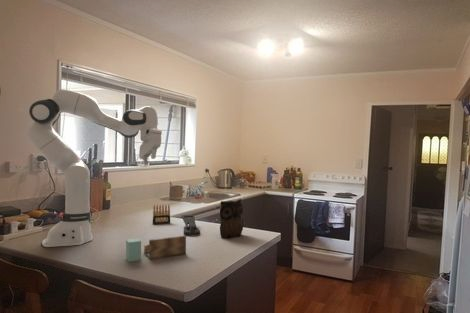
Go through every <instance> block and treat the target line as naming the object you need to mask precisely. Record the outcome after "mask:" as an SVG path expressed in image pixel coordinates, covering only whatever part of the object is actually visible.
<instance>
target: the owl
mask: <svg viewBox="0 0 470 313" xmlns="http://www.w3.org/2000/svg"><path fill="white" fill-rule="evenodd" d="M219 205H220V208H219V217H220V218H219V219H220V223H219V224H220V225H219V233H220V238H221V239H222V240H224V239H226V240H230V239H235V238H236V239H237V238H240V237H241V236H242V232H243V229H244V226H245V224H244V219H243V218H242V216H243V213H244V206H243V204H242V198H238V199H229V200H225V201H224V200H221V201H220V204H219Z"/></svg>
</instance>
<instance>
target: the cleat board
mask: <svg viewBox="0 0 470 313" xmlns="http://www.w3.org/2000/svg"><path fill="white" fill-rule="evenodd" d="M143 247H144V248H143V254H144V255H145V256H146V257H147V258H148V259H149V260H156V259H162V258H164V259H165V258H169V257H176V256H181V255H182V256H183V255H186V254H187V236H185V235H178V236H171V237H162V238H152V239H149V241H148V244H144V246H143Z"/></svg>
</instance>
